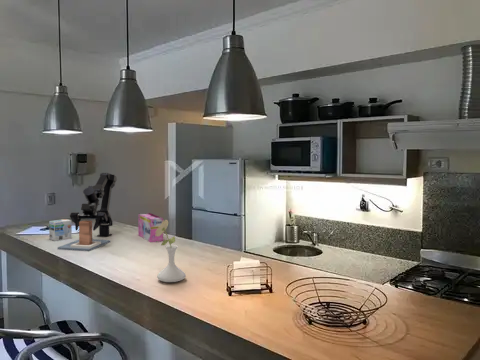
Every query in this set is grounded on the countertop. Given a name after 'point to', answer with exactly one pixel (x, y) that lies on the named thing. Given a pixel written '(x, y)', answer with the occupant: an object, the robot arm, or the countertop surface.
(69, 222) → the light bulb box
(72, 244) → the board
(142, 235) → the gum box
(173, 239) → the flower in vase
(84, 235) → the terracotta block
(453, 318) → the countertop surface
